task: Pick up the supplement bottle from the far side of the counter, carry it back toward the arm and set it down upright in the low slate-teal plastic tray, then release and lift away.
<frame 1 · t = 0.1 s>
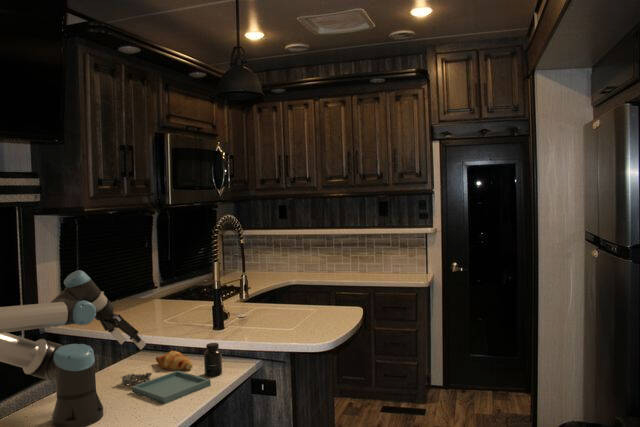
hand: (133, 344, 198), 15 cm above the countertop, tool tilted 35°, fingers open, 13 cm apart
supplement bottle: (213, 374, 205), on the countertop
tray: (171, 389, 191), on the countertop
croissant: (174, 368, 216), on the countertop
egg carton: (136, 385, 198), on the countertop
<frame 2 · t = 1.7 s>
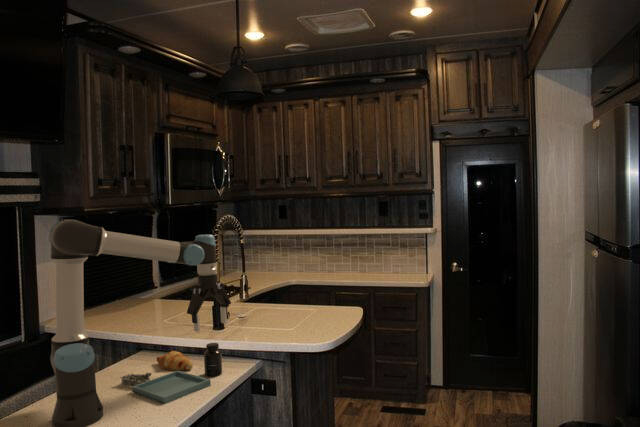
hand: (210, 327, 204), 19 cm above the countertop, tool pointing down, fingers open, 13 cm apart
nothing on the countertop moved.
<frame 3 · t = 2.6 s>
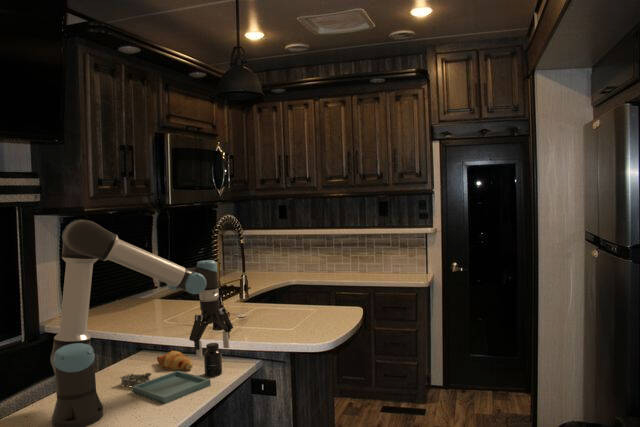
hand: (213, 352, 205), 9 cm above the countertop, tool pointing down, fingers open, 13 cm apart
nothing on the countertop moved.
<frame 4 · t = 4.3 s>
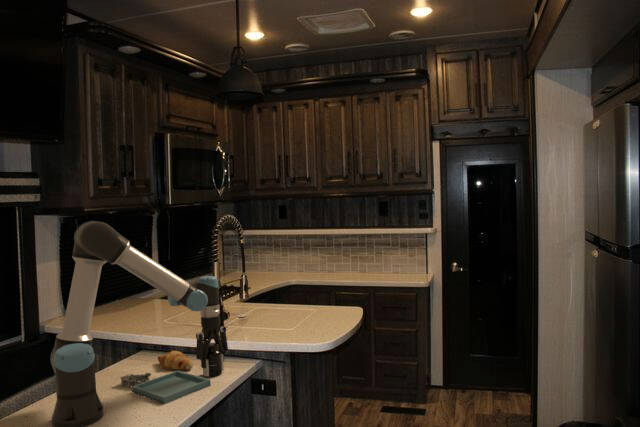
hand: (213, 372, 205), 1 cm above the countertop, tool pointing down, fingers closed on supplement bottle, 7 cm apart
supplement bottle: (213, 374, 205), on the countertop, touching gripper
everything else where it was.
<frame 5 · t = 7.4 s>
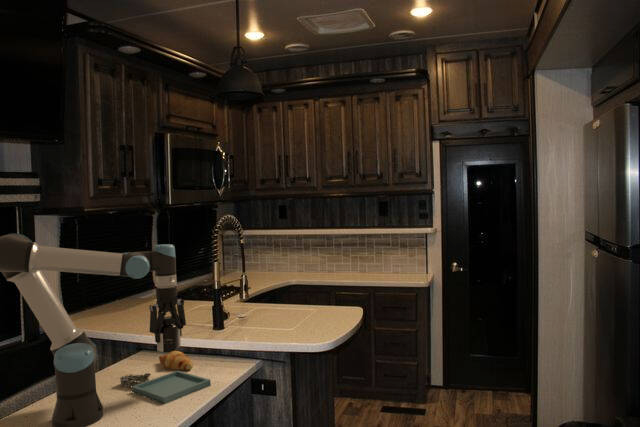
hand: (169, 348, 190), 15 cm above the countertop, tool pointing down, fingers closed on supplement bottle, 7 cm apart
supplement bottle: (169, 350, 190), point 14 cm above the countertop, touching gripper
everything else where it was.
when the fingers open (3 cm above the countertop, at t = 10.6 s): supplement bottle drops 2 cm, resting on tray.
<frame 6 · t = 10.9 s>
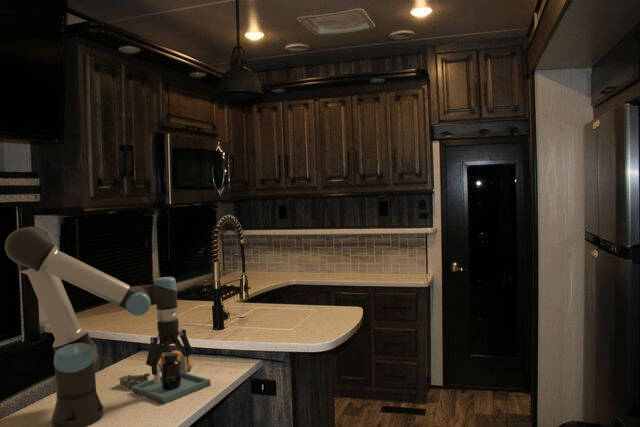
hand: (171, 378, 190), 4 cm above the countertop, tool pointing down, fingers open, 11 cm apart
supplement bottle: (171, 387, 190), point 1 cm above the countertop, touching tray
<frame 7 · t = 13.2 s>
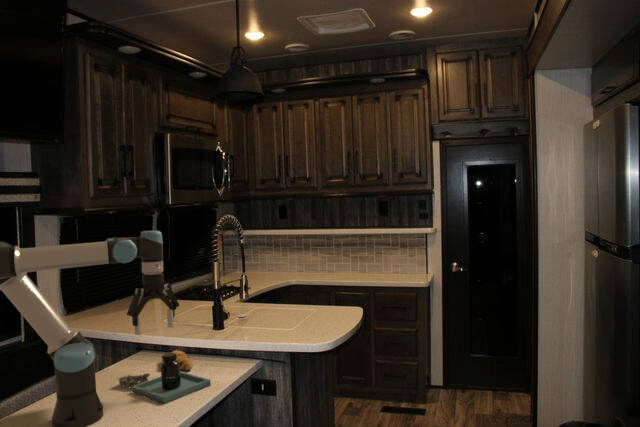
hand: (154, 330, 189), 22 cm above the countertop, tool pointing down, fingers open, 13 cm apart
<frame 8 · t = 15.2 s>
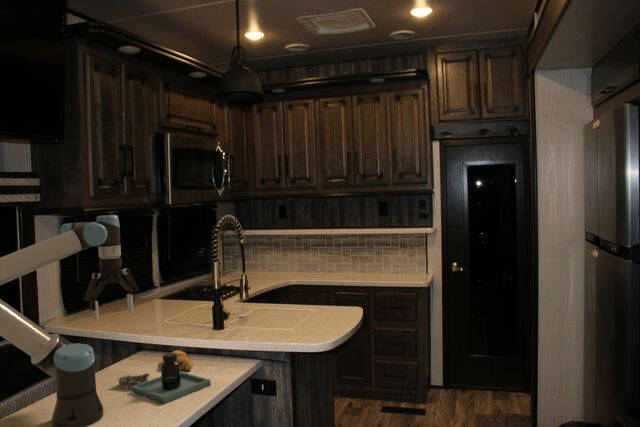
hand: (113, 315, 188), 29 cm above the countertop, tool pointing down, fingers open, 13 cm apart
at the end: supplement bottle inside the target area on the tray (0.0 cm from its centre), point 0.6 cm above the tray's base; supplement bottle tilted 0°; the gripper is holding nothing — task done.
